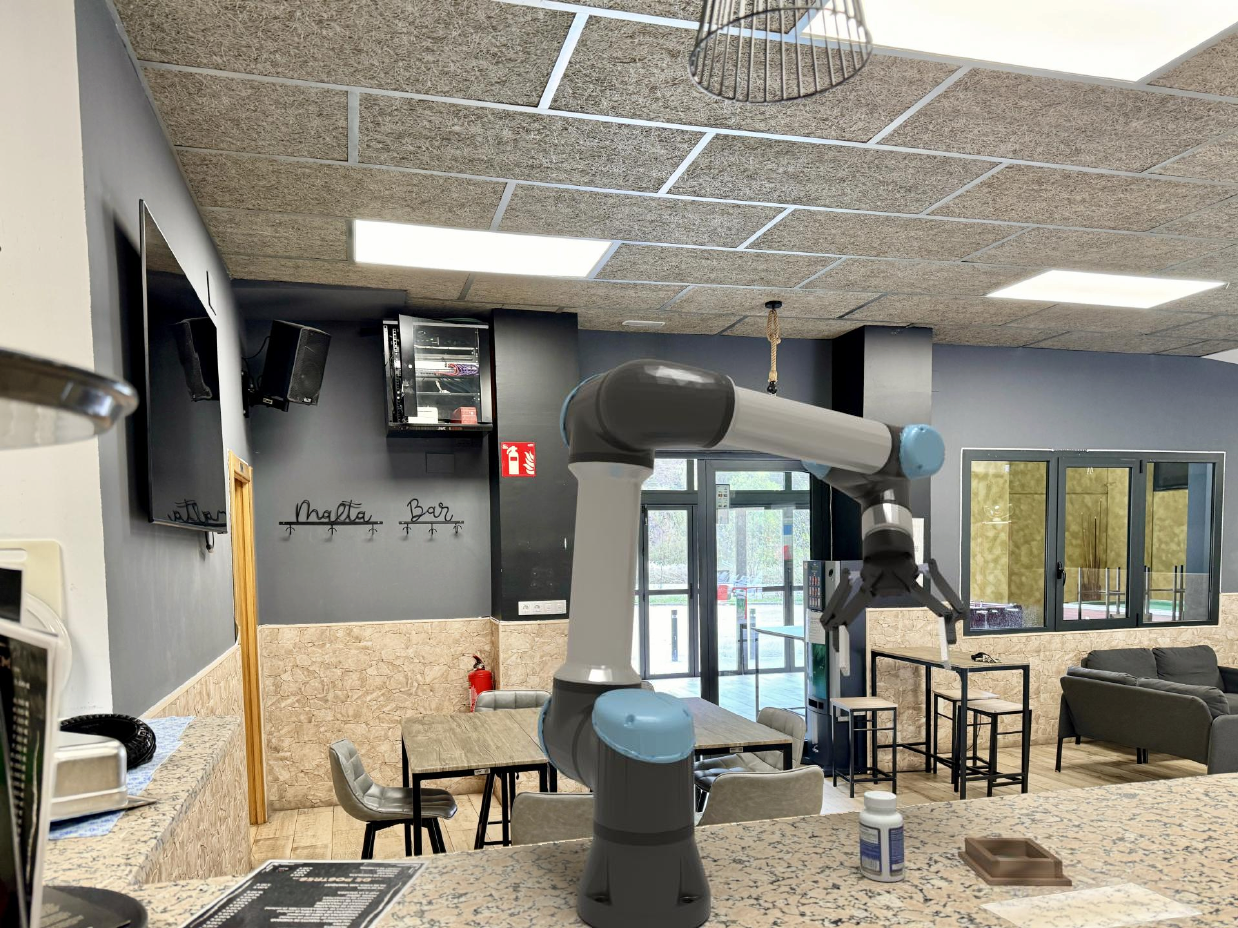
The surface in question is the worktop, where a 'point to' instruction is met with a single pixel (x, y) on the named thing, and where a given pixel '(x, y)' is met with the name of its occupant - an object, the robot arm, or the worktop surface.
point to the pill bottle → (881, 838)
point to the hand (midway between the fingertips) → (894, 668)
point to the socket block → (1013, 862)
